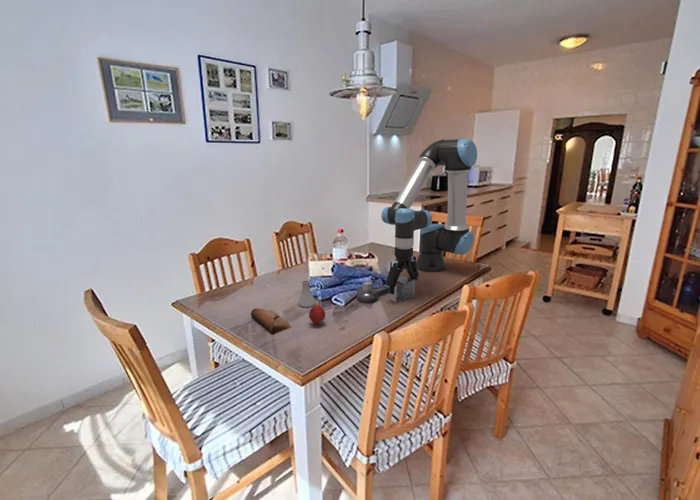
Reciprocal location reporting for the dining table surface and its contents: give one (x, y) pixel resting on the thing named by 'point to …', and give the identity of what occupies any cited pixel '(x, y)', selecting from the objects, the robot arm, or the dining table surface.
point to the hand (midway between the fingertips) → (402, 296)
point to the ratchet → (371, 292)
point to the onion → (317, 314)
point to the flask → (306, 295)
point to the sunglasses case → (270, 320)
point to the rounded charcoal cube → (405, 288)
